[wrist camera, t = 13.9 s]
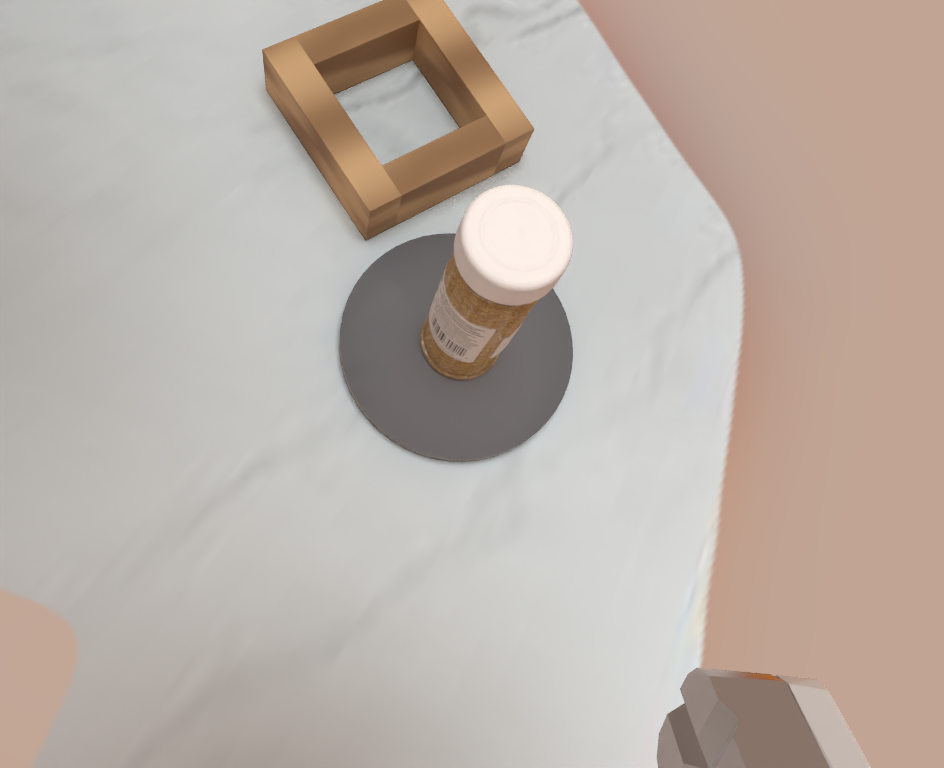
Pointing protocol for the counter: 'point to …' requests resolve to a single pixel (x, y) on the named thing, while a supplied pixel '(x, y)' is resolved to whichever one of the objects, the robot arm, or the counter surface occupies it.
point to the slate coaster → (426, 390)
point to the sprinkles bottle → (494, 278)
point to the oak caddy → (369, 54)
